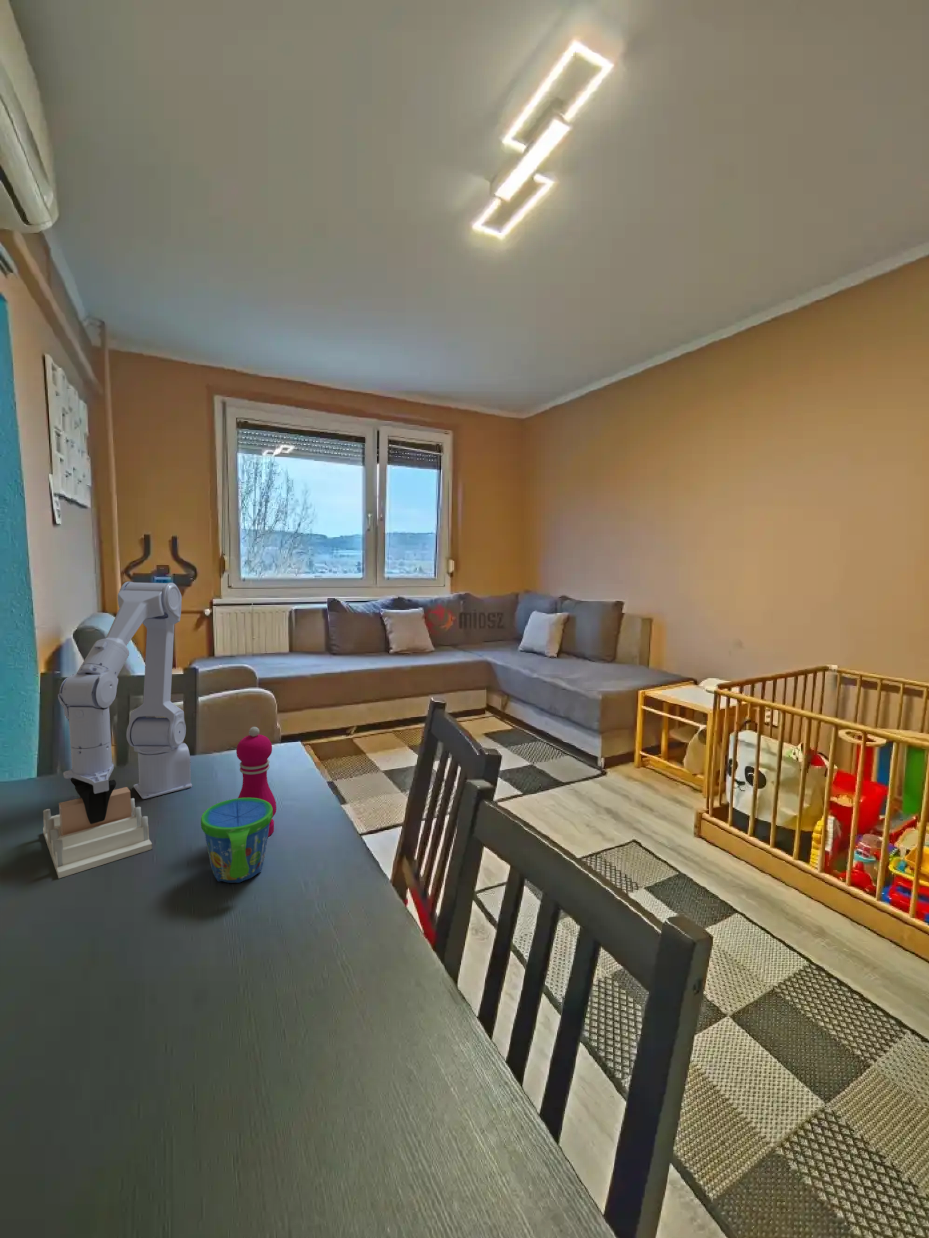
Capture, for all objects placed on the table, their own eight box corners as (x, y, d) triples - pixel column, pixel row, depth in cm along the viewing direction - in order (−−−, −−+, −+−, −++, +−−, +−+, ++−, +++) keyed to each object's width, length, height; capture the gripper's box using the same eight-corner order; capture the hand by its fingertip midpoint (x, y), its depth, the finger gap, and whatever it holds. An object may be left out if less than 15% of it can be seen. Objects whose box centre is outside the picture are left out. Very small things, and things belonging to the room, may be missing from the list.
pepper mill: (283, 824, 103) (282, 722, 101) (265, 844, 96) (264, 735, 93) (246, 821, 104) (244, 719, 101) (226, 841, 97) (223, 732, 94)
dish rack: (126, 810, 106) (125, 786, 106) (152, 848, 94) (151, 821, 93) (43, 833, 98) (41, 806, 97) (58, 878, 85) (56, 848, 84)
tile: (128, 823, 100) (126, 786, 99) (132, 828, 98) (130, 791, 97) (61, 842, 93) (58, 803, 92) (63, 848, 91) (61, 808, 90)
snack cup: (271, 895, 82) (270, 831, 81) (194, 907, 79) (192, 841, 78) (275, 842, 97) (274, 787, 96) (210, 850, 94) (208, 793, 92)
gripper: (55, 736, 96) (60, 809, 97) (69, 761, 85) (74, 842, 87) (103, 728, 101) (106, 798, 102) (121, 750, 90) (125, 828, 92)
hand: (95, 818), depth 95 cm, fingers open, 3 cm apart
